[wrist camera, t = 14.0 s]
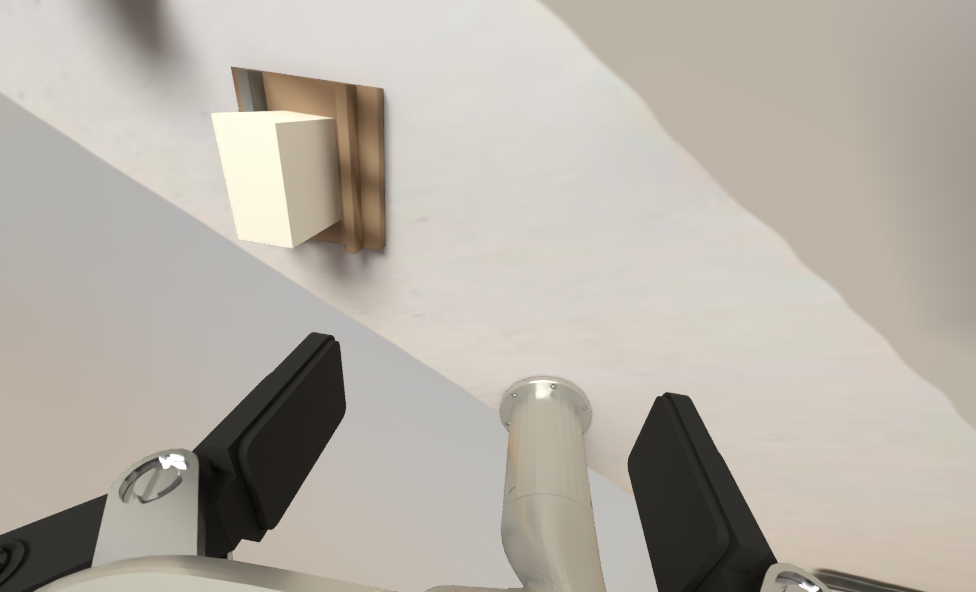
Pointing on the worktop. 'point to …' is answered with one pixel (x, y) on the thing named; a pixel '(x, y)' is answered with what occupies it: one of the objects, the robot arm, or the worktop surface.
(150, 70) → the worktop surface
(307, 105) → the shelf
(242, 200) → the box
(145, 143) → the worktop surface
